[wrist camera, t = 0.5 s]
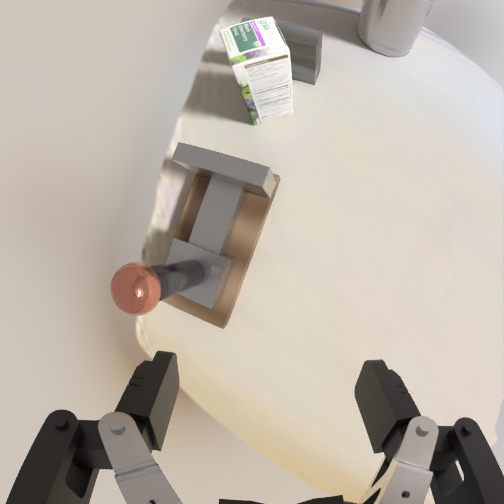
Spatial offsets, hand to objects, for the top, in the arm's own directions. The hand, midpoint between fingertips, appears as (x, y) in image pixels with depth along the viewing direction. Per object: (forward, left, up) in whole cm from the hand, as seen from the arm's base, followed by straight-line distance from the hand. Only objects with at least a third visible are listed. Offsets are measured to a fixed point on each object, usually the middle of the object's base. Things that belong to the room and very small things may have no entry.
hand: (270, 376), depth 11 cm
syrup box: (-22, -11, -25) cm, 35 cm away
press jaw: (-3, -11, -22) cm, 25 cm away
